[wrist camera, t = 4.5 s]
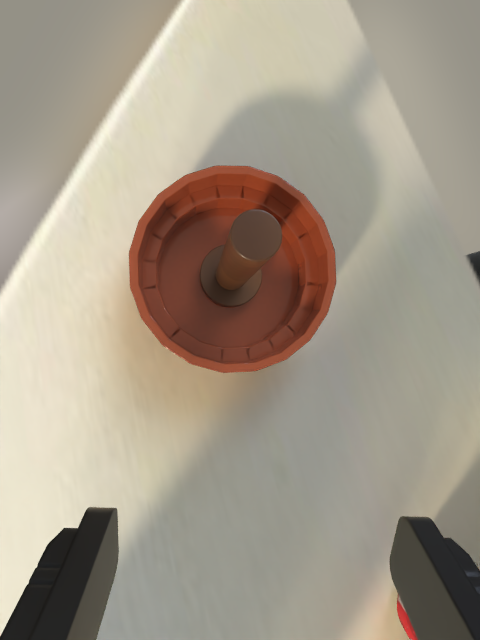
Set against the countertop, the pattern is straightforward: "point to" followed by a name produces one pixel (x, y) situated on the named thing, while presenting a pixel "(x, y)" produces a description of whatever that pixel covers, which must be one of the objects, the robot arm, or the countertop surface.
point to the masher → (241, 259)
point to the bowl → (212, 231)
